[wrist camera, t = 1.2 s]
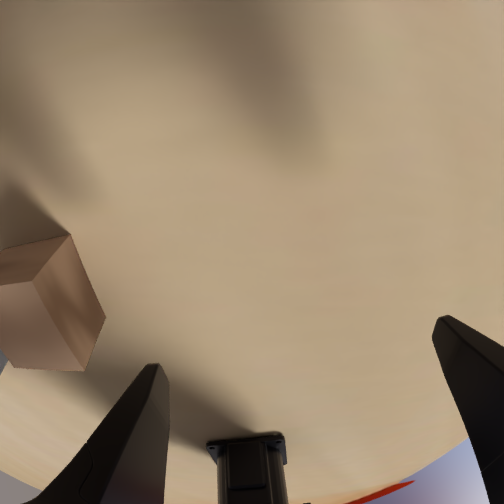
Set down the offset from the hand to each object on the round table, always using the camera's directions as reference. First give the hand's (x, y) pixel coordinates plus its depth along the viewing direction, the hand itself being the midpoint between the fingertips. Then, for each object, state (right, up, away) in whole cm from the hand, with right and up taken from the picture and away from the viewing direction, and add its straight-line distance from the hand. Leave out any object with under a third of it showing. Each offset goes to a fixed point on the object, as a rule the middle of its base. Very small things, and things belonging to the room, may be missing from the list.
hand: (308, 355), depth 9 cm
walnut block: (-12, +2, +5) cm, 13 cm away
